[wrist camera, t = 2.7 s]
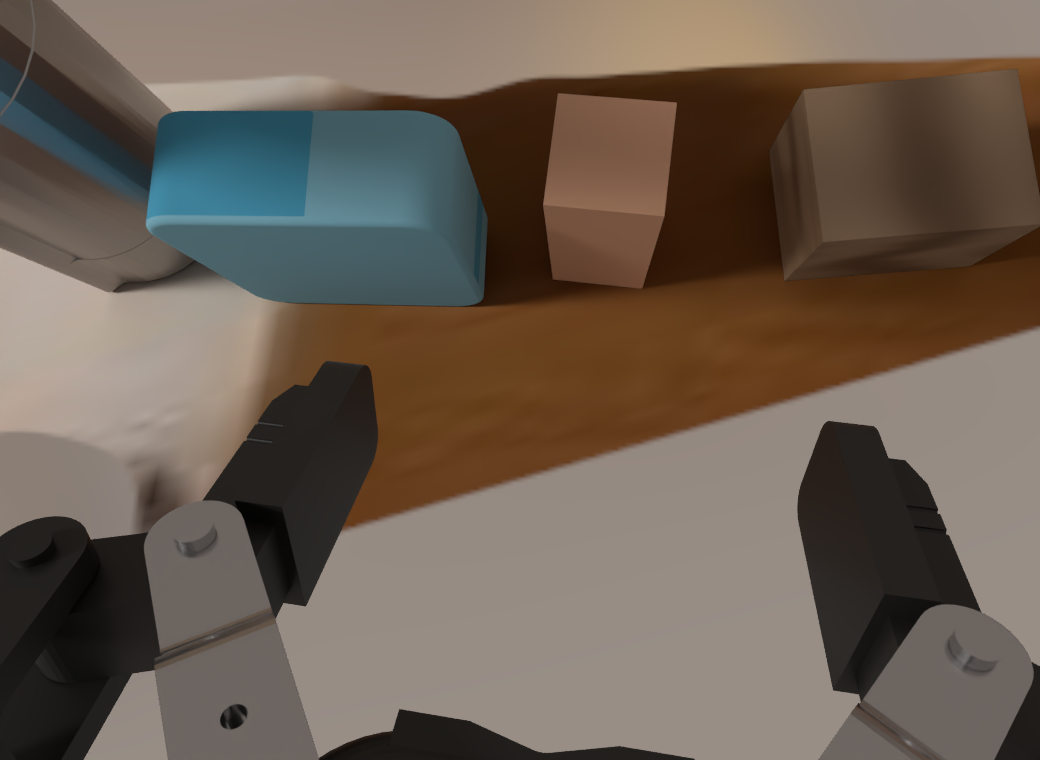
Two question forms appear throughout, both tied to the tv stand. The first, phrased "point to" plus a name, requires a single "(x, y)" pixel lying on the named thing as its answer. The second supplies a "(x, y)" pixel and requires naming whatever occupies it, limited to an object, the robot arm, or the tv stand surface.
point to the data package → (323, 204)
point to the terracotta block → (607, 187)
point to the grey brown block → (903, 175)
